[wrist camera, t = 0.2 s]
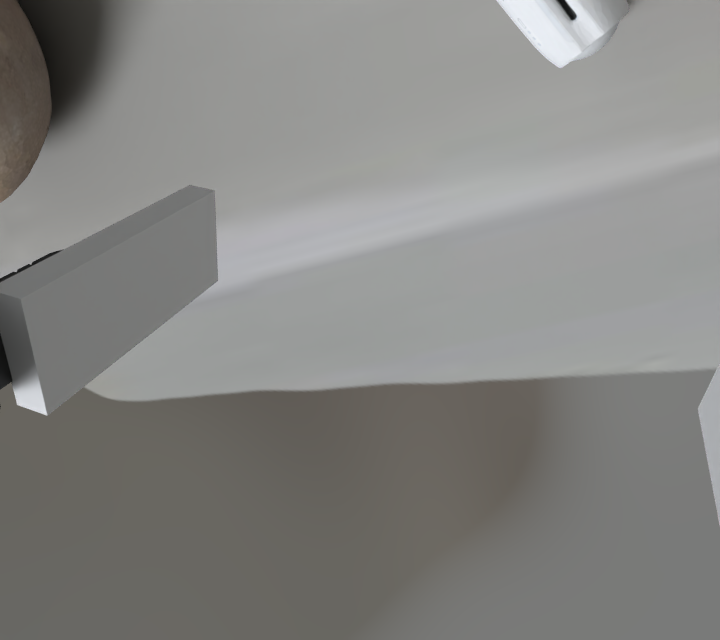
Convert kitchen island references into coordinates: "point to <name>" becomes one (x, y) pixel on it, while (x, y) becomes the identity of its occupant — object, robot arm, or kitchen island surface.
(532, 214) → the kitchen island surface
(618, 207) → the kitchen island surface
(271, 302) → the kitchen island surface
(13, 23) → the ceramic bowl
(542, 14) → the photo printer
